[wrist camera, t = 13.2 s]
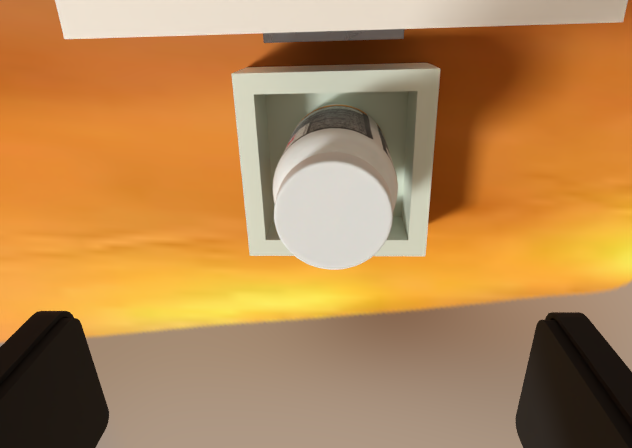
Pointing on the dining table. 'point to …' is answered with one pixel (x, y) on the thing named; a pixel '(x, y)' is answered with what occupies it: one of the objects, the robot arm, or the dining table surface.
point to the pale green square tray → (351, 89)
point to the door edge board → (317, 17)
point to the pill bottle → (335, 188)
